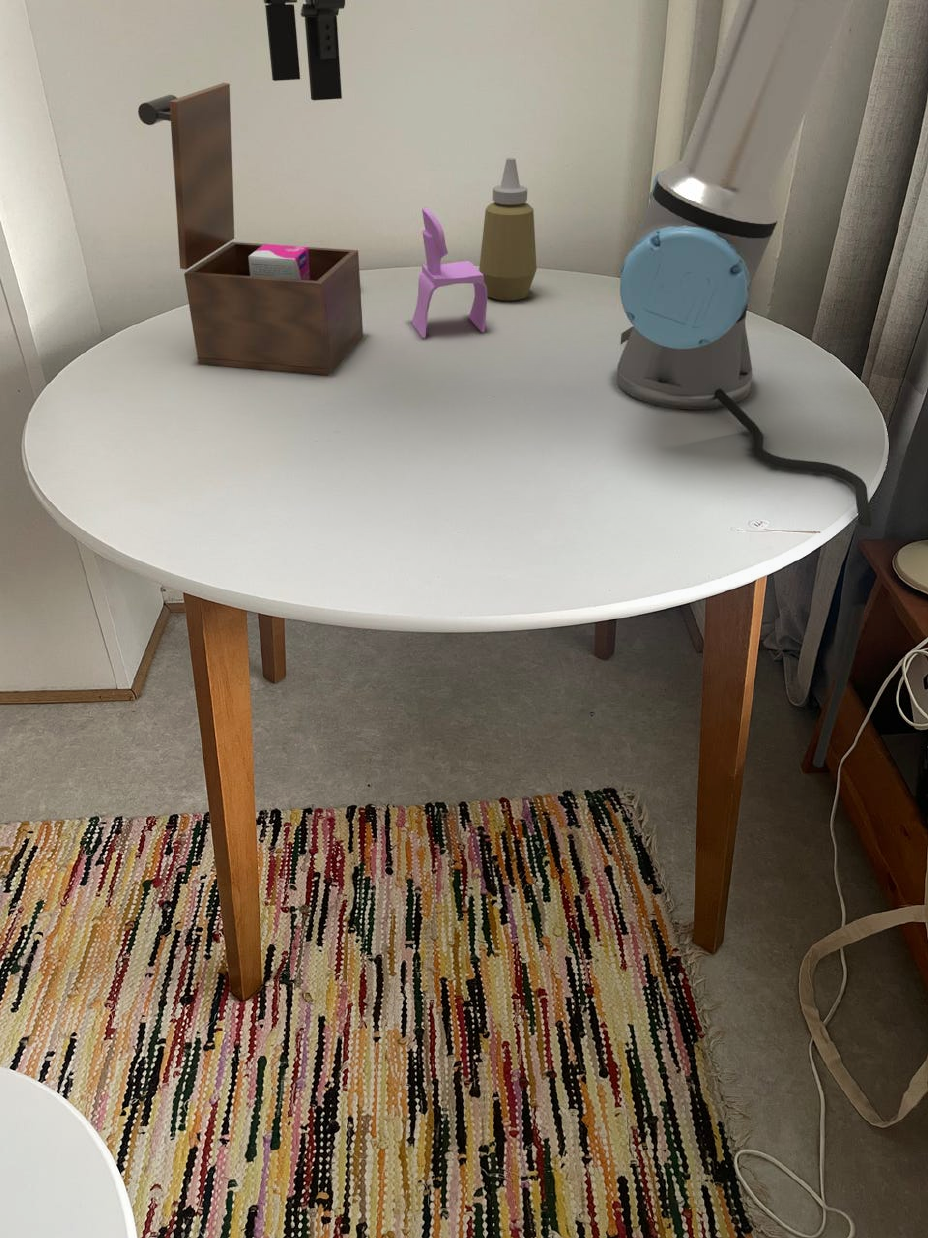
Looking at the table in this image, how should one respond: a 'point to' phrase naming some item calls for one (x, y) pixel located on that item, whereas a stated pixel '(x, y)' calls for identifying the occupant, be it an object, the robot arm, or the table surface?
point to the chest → (275, 312)
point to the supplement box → (280, 262)
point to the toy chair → (445, 277)
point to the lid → (199, 167)
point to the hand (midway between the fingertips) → (305, 89)
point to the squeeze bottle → (508, 239)
